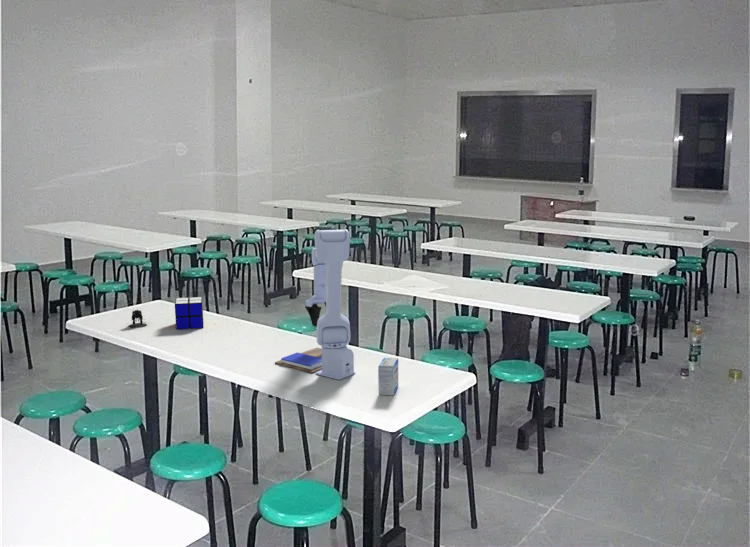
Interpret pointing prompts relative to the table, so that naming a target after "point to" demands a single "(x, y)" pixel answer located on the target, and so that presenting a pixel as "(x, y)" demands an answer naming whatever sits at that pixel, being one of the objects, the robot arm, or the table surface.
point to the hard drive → (303, 360)
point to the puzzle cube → (189, 313)
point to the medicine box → (388, 376)
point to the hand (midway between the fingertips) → (323, 323)
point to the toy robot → (136, 315)
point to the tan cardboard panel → (313, 352)
